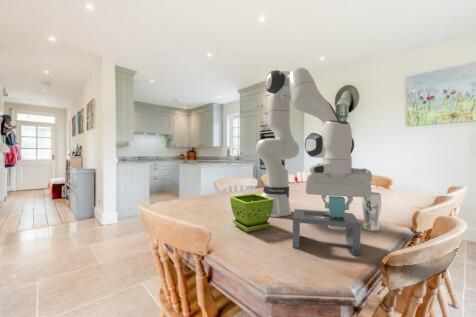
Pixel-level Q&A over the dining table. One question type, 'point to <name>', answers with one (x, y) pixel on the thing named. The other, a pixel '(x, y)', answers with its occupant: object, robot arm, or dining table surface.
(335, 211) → the peg
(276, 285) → the dining table surface
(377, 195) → the beer glass
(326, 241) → the dining table surface
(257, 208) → the flower pot
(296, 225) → the keyhole bracket
